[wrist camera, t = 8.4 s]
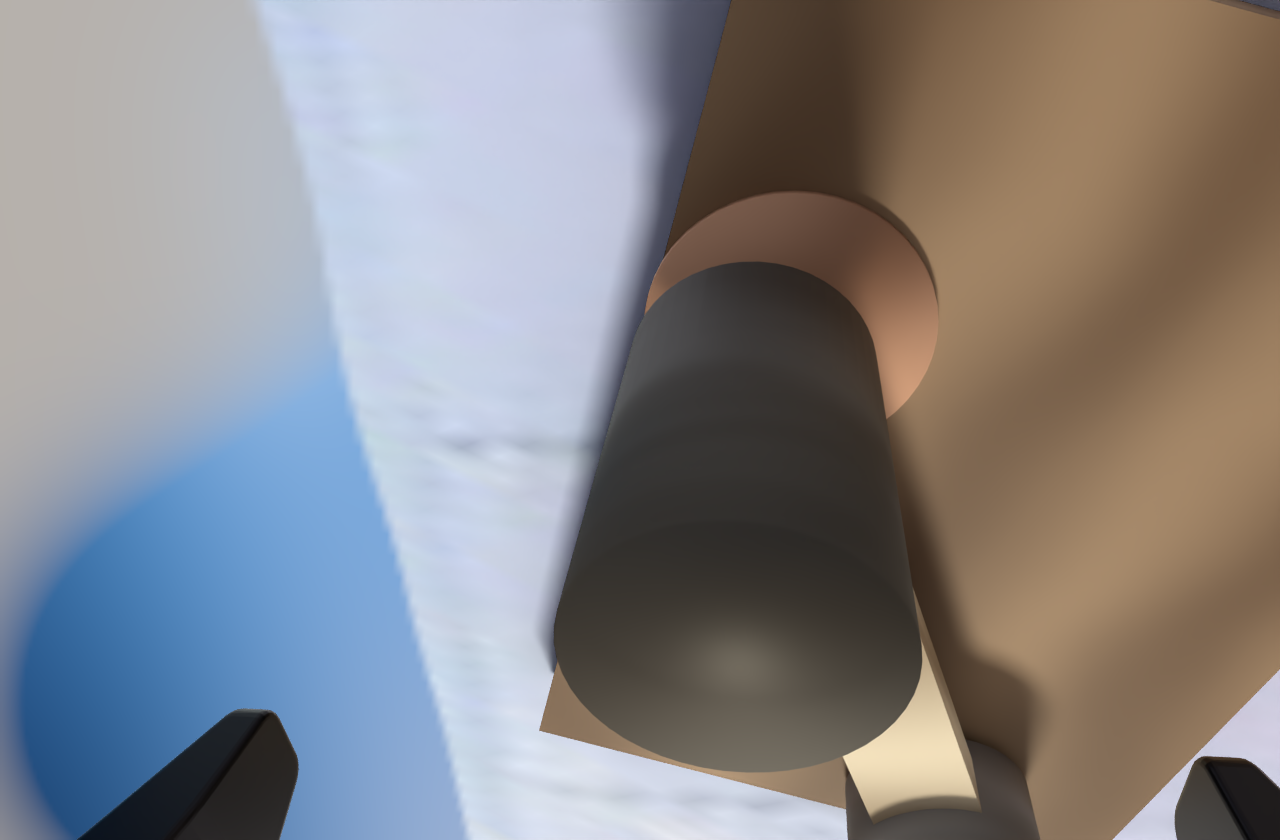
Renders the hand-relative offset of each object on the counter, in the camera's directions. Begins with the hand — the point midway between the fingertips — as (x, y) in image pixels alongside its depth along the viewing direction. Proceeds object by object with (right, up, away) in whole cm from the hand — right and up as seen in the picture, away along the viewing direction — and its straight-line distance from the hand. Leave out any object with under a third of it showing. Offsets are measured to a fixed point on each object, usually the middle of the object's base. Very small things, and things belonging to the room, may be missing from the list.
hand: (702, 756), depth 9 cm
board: (+6, +2, +11) cm, 13 cm away
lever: (+4, -1, +11) cm, 11 cm away
